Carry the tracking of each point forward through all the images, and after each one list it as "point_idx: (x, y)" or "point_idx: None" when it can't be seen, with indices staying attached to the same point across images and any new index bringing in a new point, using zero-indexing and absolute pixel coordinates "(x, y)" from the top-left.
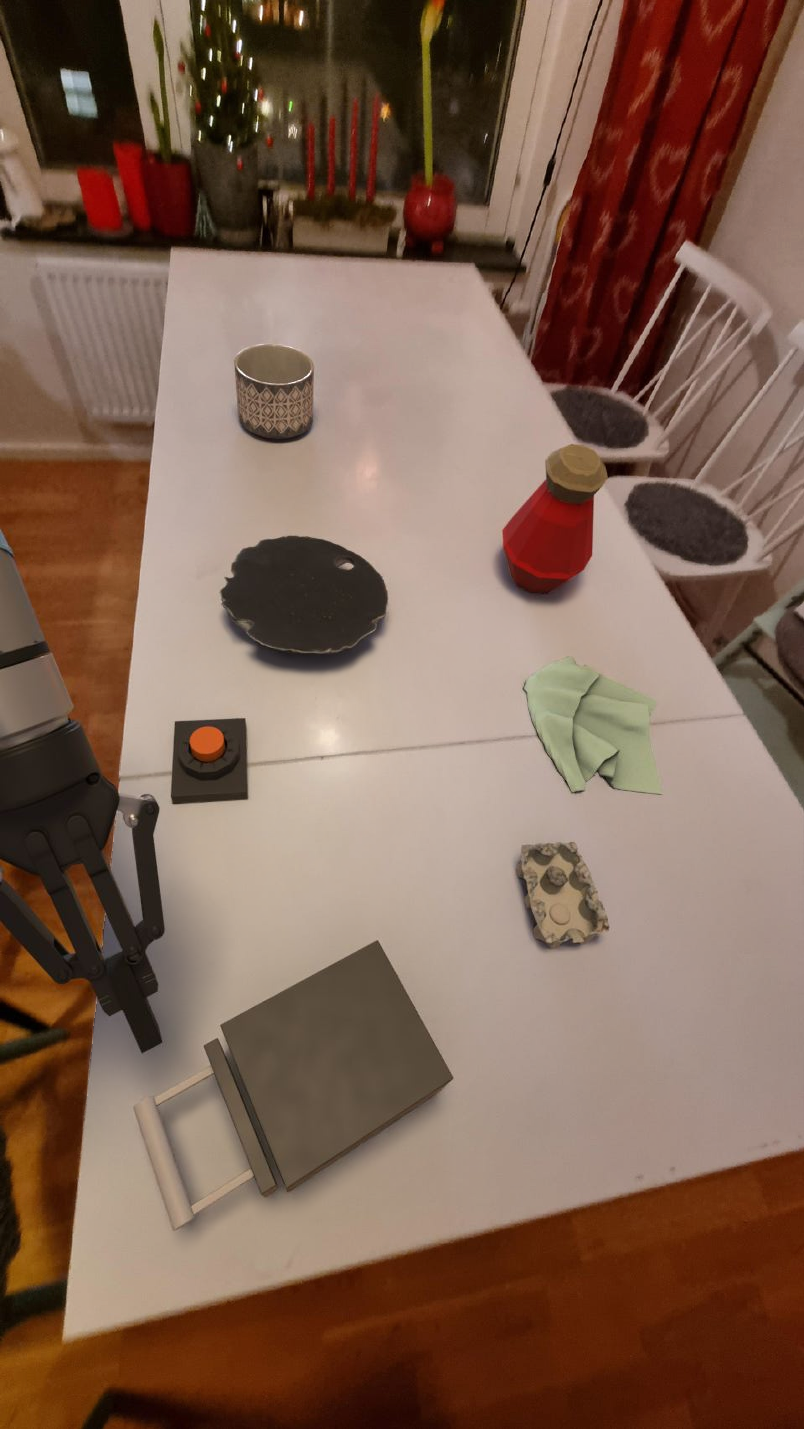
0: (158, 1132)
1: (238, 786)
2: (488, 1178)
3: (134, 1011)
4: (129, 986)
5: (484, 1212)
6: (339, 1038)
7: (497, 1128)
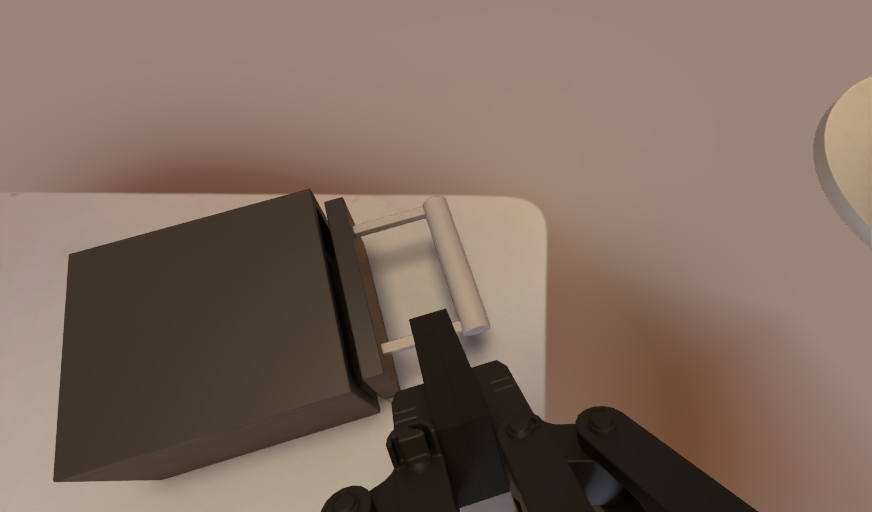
0: (456, 286)
1: None
2: (149, 221)
3: (444, 354)
4: (444, 392)
5: (168, 198)
6: (186, 333)
7: None
